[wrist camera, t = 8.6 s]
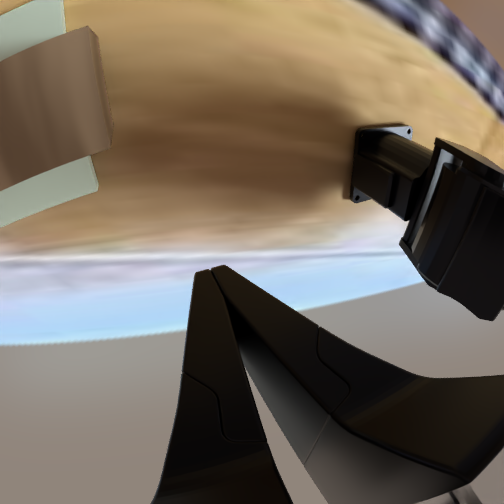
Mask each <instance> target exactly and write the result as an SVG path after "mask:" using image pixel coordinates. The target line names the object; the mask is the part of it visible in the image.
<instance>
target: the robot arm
mask: <svg viewBox="0 0 504 504" xmlns="http://www.w3.org/2000/svg"><path fill="white" fill-rule="evenodd" d="M412 132H413V129H412V127H411V126H408V125H396V126H380V127H367V128H360V129H358V130H357V132H356V135H355V149H354V161H353V172H352V182H351V191H350V200H351V201H352V202H354V203H359V202H363V201H366V200H370V199H372V200H374V201H375V202H377V203H378V204H379V205H381V206H382V207H384V208H387V209H389V210H390V211H392V212H393V213H394V214H396V215H397V216H398V217H400V218H401V219H402V220H404V221H408V220H409V223H408V226H407V228H406V231H405V233H404V236H403V237H402V238H401V240H400V242H399V245H400V247H401V248H402V249H403V251H404V252H405V254H406V255H407V256H408V258H409V259H410V261H411V262H412V263H413V265H414V266H415V268H416V269H417V271H418V272H419V274H420V275H421V277H422V278H423V279H424V280H425V282H426V283H427V284H428V285H429V286H430V287H432V288H434V289H435V290H437V291H438V292H439V293H442V294H444V295H446V296H449V297H451V298H453V299H454V300H456V301H458V302H459V303H461V304H462V305H463V306H465V307H466V308H467V309H468V310H470V311H471V312H472V313H473V314H474V315H476V316H477V317H478V318H479V319H484V320H489V321H493V320H495V318H496V317H497V316H498V314H499V313H500V311H501V310H504V170H503V169H501V168H500V167H499V166H497V165H496V164H495V163H493V162H492V161H490V160H489V159H488V158H486V157H484V156H482V155H480V154H478V153H476V152H474V151H472V150H470V149H468V148H466V147H464V146H461V145H459V144H456V143H453V142H450V141H447V140H444V139H441V138H438V137H436V139H435V142H434V144H435V147H434V150H433V151H432V150H430V149H428V148H426V147H424V146H422V145H420V144H418V143H416V142H414V141H411V140H412ZM362 133H363V135H362ZM361 135H362V137H361ZM355 197H356V198H355ZM244 366H245V367H244ZM245 368H246V370H247V371H248V373H249V375H250V377H251V379H252V380H253V382H254V384H255V386H256V387H257V389H258V391H259V393H260V394H261V396H262V398H263V400H264V401H265V403H266V405H267V407H268V408H269V410H270V411H271V413H272V415H273V417H274V418H275V420H276V422H277V423H278V425H279V427H280V428H281V430H282V432H283V433H284V435H285V436H286V438H287V440H288V441H289V443H290V445H291V446H292V448H293V450H294V451H295V453H296V454H297V456H298V458H299V459H300V461H301V462H302V464H303V465H304V467H305V469H306V470H307V472H308V474H309V475H310V477H311V478H312V480H313V481H314V483H315V484H316V486H317V487H318V489H319V490H320V492H321V493H322V495H323V496H324V498H325V499H326V501H327V502H328V504H504V375H496V376H482V377H462V378H429V377H424V376H420V375H416V374H413V373H411V372H408V371H406V370H404V369H401V368H399V367H397V366H395V365H393V364H390V363H388V362H386V361H383V360H382V359H380V358H377V357H375V356H373V355H371V354H369V353H367V352H365V351H363V350H361V349H359V348H356V347H355V346H353V345H351V344H349V343H347V342H346V341H344V340H342V339H340V338H338V337H337V336H335V335H334V334H332V333H330V332H329V331H327V330H325V329H324V328H322V327H319V326H318V325H317V324H316V323H314V322H313V321H311V320H309V319H308V318H306V317H305V316H303V315H301V314H300V313H298V312H297V311H295V310H294V309H292V308H291V307H289V306H287V305H286V304H284V303H283V302H281V301H280V300H278V299H277V298H275V297H274V296H272V295H270V294H269V293H267V292H266V291H264V290H263V289H261V288H260V287H258V286H257V285H255V284H254V283H252V282H250V281H249V280H247V279H246V278H244V277H243V276H241V275H240V274H238V273H237V272H235V271H234V270H232V269H231V268H229V267H228V266H226V265H221V266H217V267H213V268H211V270H209V269H206V270H202V271H199V272H196V273H195V275H194V282H193V289H192V295H191V302H190V310H189V317H188V324H187V332H186V341H185V349H184V357H183V366H182V374H181V382H180V390H179V397H178V404H177V410H176V415H175V419H174V424H173V429H172V433H171V437H170V441H169V445H168V450H167V454H166V458H165V462H164V466H163V471H162V475H161V479H160V482H159V485H158V488H157V491H156V494H155V496H154V498H153V500H152V502H151V504H293V502H292V500H291V497H290V495H289V493H288V491H287V489H286V487H285V485H284V483H283V480H282V478H281V476H280V474H279V472H278V469H277V467H276V464H275V462H274V459H273V456H272V453H271V451H270V448H269V445H268V443H267V438H266V435H265V432H264V429H263V426H262V423H261V420H260V416H259V414H258V410H257V407H256V404H255V400H254V397H253V394H252V391H251V387H250V384H249V381H248V377H247V374H246V370H245Z"/></svg>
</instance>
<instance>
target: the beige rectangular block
mask: <svg viewBox="0 0 504 504" xmlns="http://www.w3.org/2000/svg"><path fill="white" fill-rule="evenodd" d="M113 125H114V124H113V119H112V115H111V110H110V105H109V100H108V95H107V89H106V84H105V78H104V72H103V66H102V60H101V54H100V47H99V40H98V36H97V35H96V34H95V33H94V32H93V31H92V30H91V29H90V28H89V27H88V26H86V27H82V28H79V29H76V30H73V31H70V32H67V33H65V34H62V35H59V36H56V37H54V38H51V39H49V40H46V41H44V42H41V43H39V44H36V45H34V46H32V47H29V48H27V49H25V50H23V51H21V52H18V53H16V54H14V55H12V56H10V57H8V58H6V59H4V60H2V61H0V191H2V190H5V189H7V188H9V187H11V186H13V185H15V184H18V183H20V182H22V181H24V180H27V179H29V178H31V177H34V176H36V175H39V174H41V173H44V172H46V171H49V170H51V169H54V168H56V167H59V166H62V165H64V164H67V163H70V162H72V161H75V160H78V159H81V158H84V157H87V156H89V155H92V154H95V153H99V152H102V151H105V150H108V149H111V141H112V133H113Z"/></svg>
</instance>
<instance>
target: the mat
mask: <svg viewBox="0 0 504 504" xmlns="http://www.w3.org/2000/svg"><path fill="white" fill-rule="evenodd" d="M65 33H66V26H65V16H64V4H63V0H34V1H31V2H29V3H27V4H24V5H22V6H20V7H18V8H16V9H13V10H11V11H9V12H7V13H5V14H3V15H1V16H0V61H2V60H4V59H6V58H8V57H10V56H12V55H14V54H16V53H18V52H21V51H23V50H25V49H27V48H29V47H32V46H34V45H36V44H39V43H41V42H44V41H46V40H49V39H51V38H54V37H56V36H59V35H62V34H65ZM98 185H99V184H98V181H97V177H96V174H95V170H94V167H93V163H92V160H91V156H90V155H89V156H87V157H84V158H81V159H78V160H75V161H72V162H70V163H67V164H64V165H62V166H59V167H56V168H54V169H51V170H49V171H46V172H44V173H41V174H39V175H36V176H34V177H31V178H29V179H27V180H24V181H22V182H20V183H18V184H15V185H13V186H11V187H9V188H7V189H5V190H2V191H0V228H1V227H3V226H6V225H8V224H10V223H13V222H15V221H17V220H20V219H22V218H25V217H27V216H30V215H32V214H35V213H37V212H40V211H42V210H45V209H48V208H50V207H53V206H56V205H58V204H61V203H64V202H67V201H70V200H72V199H75V198H78V197H81V196H84V195H87V194H90V193H93V192H96V191H98Z"/></svg>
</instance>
